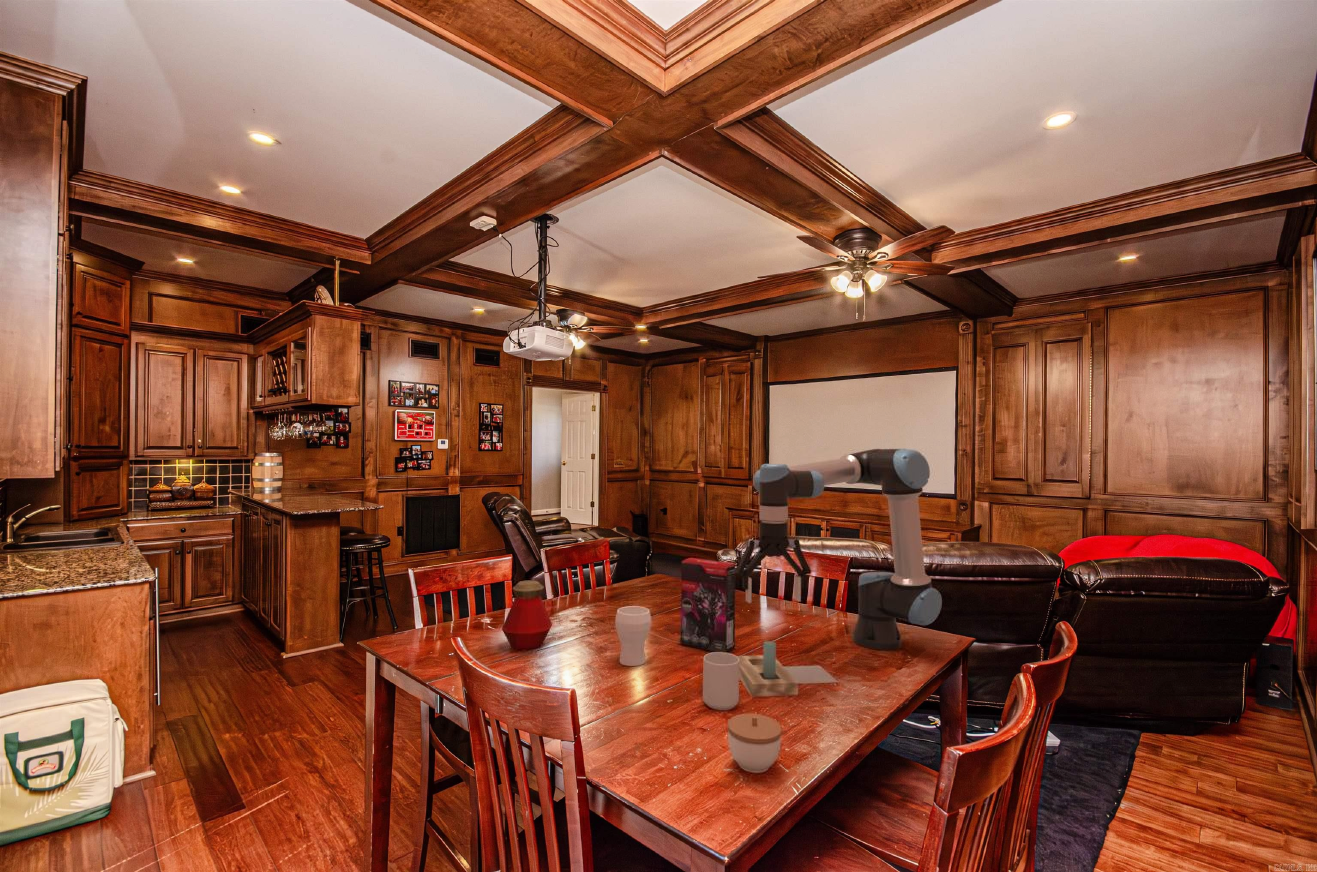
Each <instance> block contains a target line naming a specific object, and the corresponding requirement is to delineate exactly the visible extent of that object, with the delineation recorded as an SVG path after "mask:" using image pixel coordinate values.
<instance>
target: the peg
mask: <svg viewBox="0 0 1317 872" xmlns="http://www.w3.org/2000/svg"><path fill="white" fill-rule="evenodd" d="M776 654H777V643H776V642H774V641H768V640H767V641H764V642H763V654H762V655H763V679H764V680H767V679H775V678H776V659H777V658H776V657H777V656H776Z"/></svg>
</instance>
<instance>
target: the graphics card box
mask: <svg viewBox="0 0 1317 872" xmlns="http://www.w3.org/2000/svg"><path fill="white" fill-rule="evenodd" d="M680 566H681V569H680V570H681V579H680V580H681V581H680V582H681V583H680V584H681V585H680V589H681V591H680V592H681V593H680V594H681V595H680V642H679V643H680V645H684V646H686V647H691V648H696V649H702V650H707V651H710V652H712V653H714V652H724V653H731V652H732V651H734V650H735V649H736V648H735V647H736V645H735V644H736V638H735V637H736V572H735V571H736V568H737V567H736V566H737V564H736V563H731V562H725V561H723V562H722V561H716V560H711V559H702V558H694V557H688V558H685V559H683V560H682V561H681V565H680Z"/></svg>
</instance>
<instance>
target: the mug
mask: <svg viewBox="0 0 1317 872" xmlns="http://www.w3.org/2000/svg"><path fill="white" fill-rule="evenodd" d="M737 656H738V655H735V654H733V653H731V652H729V653H724V652H709V653H707V654H705V655H704V656H703V663H702V665H703V666H702V669H703V670H702V700H703V702H704V704H706V706H708V707H709V708H711V709H713V710H718V711H727V710H728V711H729V710H731V709H733V708H735V707H736V706H737V705H738V703H739V700H740V679H739V658H738V657H737Z"/></svg>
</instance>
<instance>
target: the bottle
mask: <svg viewBox="0 0 1317 872" xmlns="http://www.w3.org/2000/svg"><path fill="white" fill-rule="evenodd" d="M544 587H545V586H544V585H542V584H541V583H540V582H539V581H537V580H523V581H522V580H521V581H519V582H518V583H516V584H515V586H513V587H512V588H511V590H512V592H513V594H514V600H513V602H512V605H511V606H510V609H509V612H508V614H507V616H506V618H505V621H504V623H503V625H502V628H501V630H502V632H503V634H504V636H505V638H506V640H507V641H508V643H509V644H508V645H510V647H511V648H512V649H513V650H516V651H530V650H531V651H532V650H536V649H539V648H541V647H542V645H543V643H544V642H545V640H546V638H547V636H548V634H549V633H550V630H551V628H552V626H553V623H552V620H551V618H550V616H549V613H548V611H547V609H546V605H545V604H544V601H543V599H542V598H543V597H541V594H542V593H543V590H544Z"/></svg>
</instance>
